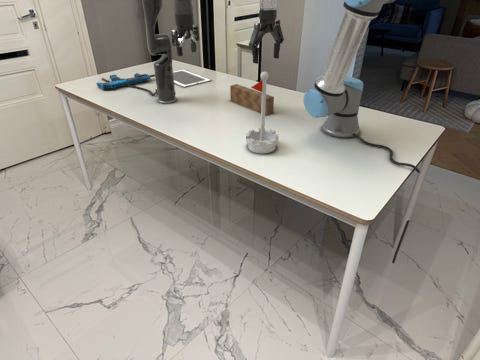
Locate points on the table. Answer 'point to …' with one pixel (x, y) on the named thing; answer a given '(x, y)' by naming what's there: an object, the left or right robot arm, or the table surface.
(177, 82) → the tablet
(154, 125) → the table surface
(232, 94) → the bar
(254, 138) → the flag stand
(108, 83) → the submachine gun
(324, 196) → the table surface
